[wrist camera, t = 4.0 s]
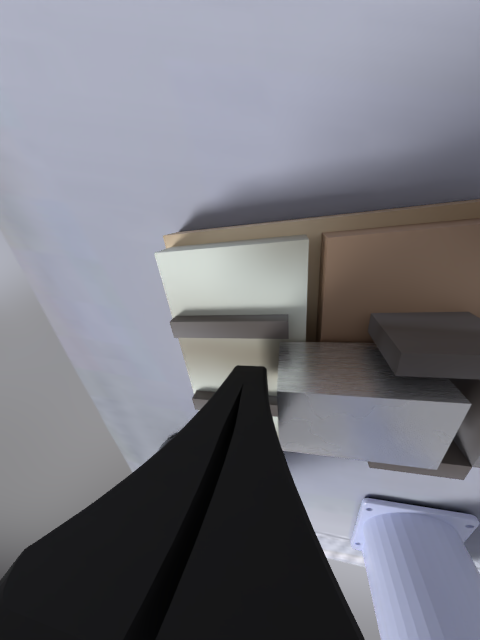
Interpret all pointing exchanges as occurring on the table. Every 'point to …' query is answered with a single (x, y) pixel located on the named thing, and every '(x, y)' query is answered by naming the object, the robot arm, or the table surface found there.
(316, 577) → the robot arm
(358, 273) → the lock board
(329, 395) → the bolt
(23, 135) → the table surface
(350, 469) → the table surface
